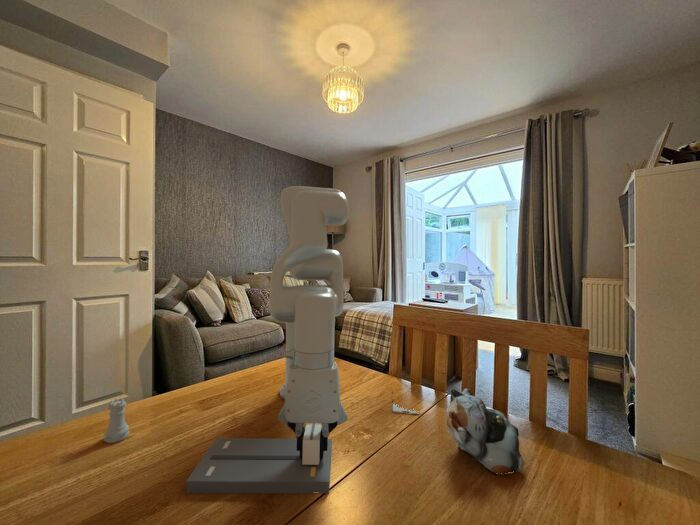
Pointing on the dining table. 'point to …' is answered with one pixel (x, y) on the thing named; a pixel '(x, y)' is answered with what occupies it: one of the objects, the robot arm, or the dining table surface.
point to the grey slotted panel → (258, 468)
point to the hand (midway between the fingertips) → (312, 452)
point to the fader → (311, 445)
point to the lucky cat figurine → (483, 433)
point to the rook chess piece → (116, 422)
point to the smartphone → (402, 409)
